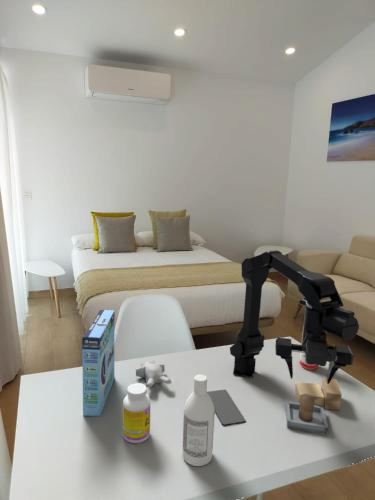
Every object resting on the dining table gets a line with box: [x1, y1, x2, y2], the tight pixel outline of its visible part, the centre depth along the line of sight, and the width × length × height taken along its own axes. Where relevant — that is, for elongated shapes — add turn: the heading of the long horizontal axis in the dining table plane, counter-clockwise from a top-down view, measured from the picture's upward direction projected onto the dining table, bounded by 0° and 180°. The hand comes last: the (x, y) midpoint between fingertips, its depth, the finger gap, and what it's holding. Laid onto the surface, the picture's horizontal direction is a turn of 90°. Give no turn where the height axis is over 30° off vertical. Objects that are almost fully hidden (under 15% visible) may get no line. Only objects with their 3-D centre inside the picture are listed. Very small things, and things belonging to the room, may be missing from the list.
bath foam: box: [182, 374, 216, 467], centre depth 82 cm, size 7×7×20 cm
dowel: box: [299, 394, 315, 422], centre depth 98 cm, size 4×4×6 cm
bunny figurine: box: [135, 360, 172, 388], centre depth 114 cm, size 10×5×15 cm
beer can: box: [299, 333, 319, 371], centre depth 126 cm, size 6×6×16 cm
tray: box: [285, 400, 329, 436], centre depth 98 cm, size 10×9×2 cm
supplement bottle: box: [122, 382, 151, 444], centre depth 89 cm, size 7×7×13 cm
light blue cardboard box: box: [81, 309, 116, 417], centre depth 104 cm, size 20×5×23 cm, turn 0°
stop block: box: [320, 377, 343, 411], centre depth 107 cm, size 4×8×5 cm, turn 168°
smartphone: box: [207, 389, 247, 427], centre depth 103 cm, size 7×1×15 cm
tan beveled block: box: [294, 381, 325, 407], centre depth 109 cm, size 7×7×3 cm
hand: (309, 380), depth 96 cm, fingers open, 9 cm apart
